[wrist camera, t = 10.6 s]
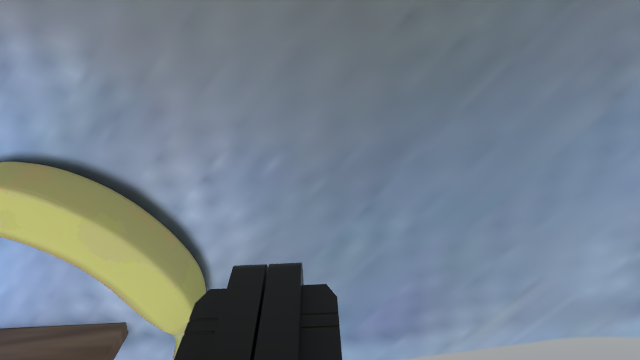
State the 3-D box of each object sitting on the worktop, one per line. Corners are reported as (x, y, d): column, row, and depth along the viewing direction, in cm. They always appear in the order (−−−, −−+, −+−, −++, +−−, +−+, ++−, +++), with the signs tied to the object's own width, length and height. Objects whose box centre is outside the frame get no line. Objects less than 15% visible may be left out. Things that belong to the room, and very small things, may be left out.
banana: (14, 137, 27) (240, 375, 35) (71, 94, 32) (260, 313, 40) (-122, 228, 32) (101, 416, 40) (-55, 180, 37) (133, 357, 45)
